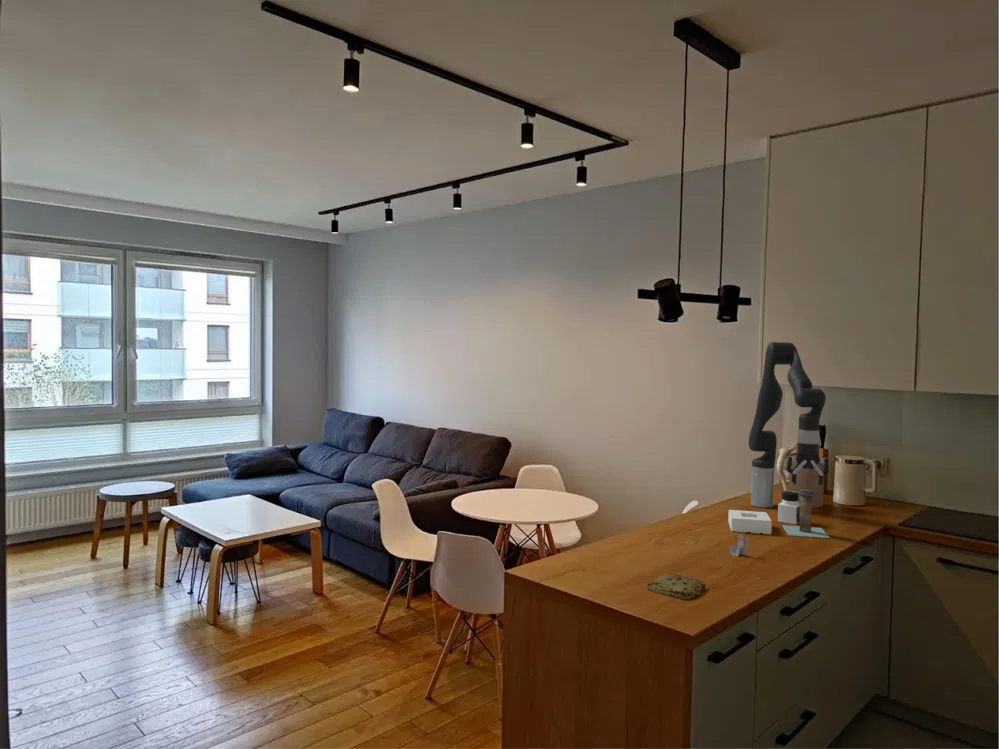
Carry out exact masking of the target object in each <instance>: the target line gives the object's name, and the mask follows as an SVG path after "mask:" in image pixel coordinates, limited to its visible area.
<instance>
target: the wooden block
mask: <svg viewBox="0 0 999 749" xmlns="http://www.w3.org/2000/svg"><path fill="white" fill-rule="evenodd" d="M797 464H798V462H797V461H796V460H794V462H792V465H791V469H792V470H793V469H794V468H795V466H796V465H797ZM798 466H799V465H798ZM817 466H818V467H819V469H820V470H821V471H824V464H822V462H821V461H820V462H819V463H818V464H817ZM818 475H819V474H818V472H817V471H816V470H815V468H813V469H808V468H807V469H803V468H801V469H800V470H799V471H798V472H797V473H796V484H793V482H792V481H791V480H792V473H790V472H789V491H794V492H796V493H798V503H800V500H801V495H800V494H799V490H811V491H814V495H813V496H812V509H815V508H817V509H818V508H823V506H824V485H825V484H824V482H825V481H824V480H825V479H824V477H825V475H824V476H823V483H822V484H821V486H819V485H818Z"/></svg>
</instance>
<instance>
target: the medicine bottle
mask: <svg viewBox="0 0 999 749" xmlns="http://www.w3.org/2000/svg"><path fill="white" fill-rule="evenodd" d="M777 510H778V511H777V522H780V523H785V524H792V525H798V524H800V503H798V493H796V492H794V491H790V490H784V491H782V492H781V502H780V503H778V506H777Z"/></svg>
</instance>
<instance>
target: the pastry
mask: <svg viewBox="0 0 999 749" xmlns="http://www.w3.org/2000/svg"><path fill="white" fill-rule="evenodd" d="M706 586H707V584H706V583H705V581H702V580H700V579H697V578H695V577H693V576H690V575H682V574H678V573H673V572H671V573H670V572H669V573H665V574H663V575H661V576H659V577H658V578H655V579H654V580H651V581H650V582H647V583H646V584H645V587H646V588H647V589H649V590H648V591H650V590H651V592H653V591H654V593H656V592H658V593H657V594H659V593H662V594H661V595H663V594H666V595H665V596H668V595H670V596H669V597H672V596H674V597H673V598H675V597H678V598H677V599H679V598H681V599H680V600H683V599H688V600H690V599H689V598H691V599H693V598H695V597H696V596H695V595H697V596H699V595H700V594H702V592H703V591H704V590H706ZM645 587H644V588H645ZM646 588H645V589H646ZM647 589H646V590H647ZM702 590H703V591H702ZM692 597H693V598H692Z"/></svg>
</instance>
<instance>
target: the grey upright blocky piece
mask: <svg viewBox="0 0 999 749" xmlns="http://www.w3.org/2000/svg"><path fill="white" fill-rule="evenodd" d="M736 543H737V544H736V545H733V546H729V556H732V557H735V558H736V557H739V555H741V554H742V555H743V556H745V555H746V556H747V548H749V547H750V546H749V545H750V537H749V536H746V544H745V545H746V546H744V535H739V534H737V542H736ZM769 573H770V572H769Z"/></svg>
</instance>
